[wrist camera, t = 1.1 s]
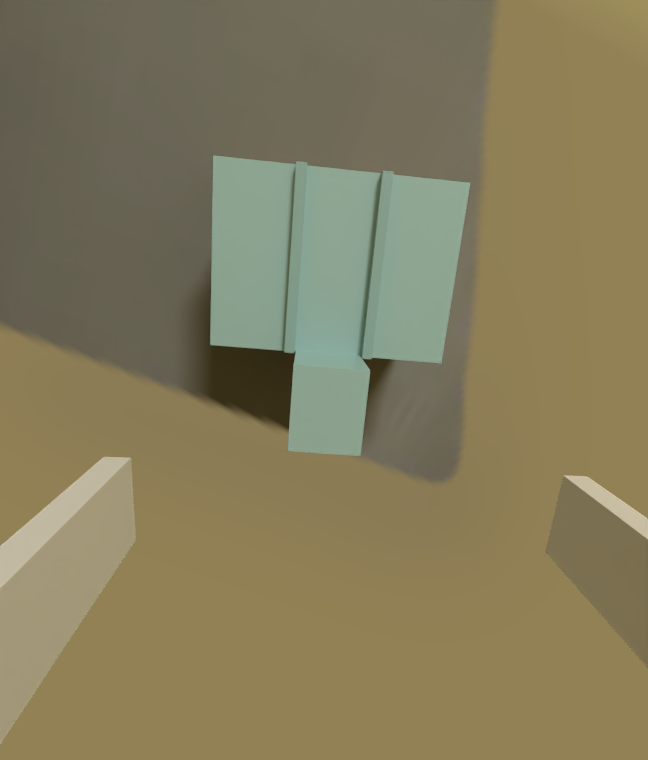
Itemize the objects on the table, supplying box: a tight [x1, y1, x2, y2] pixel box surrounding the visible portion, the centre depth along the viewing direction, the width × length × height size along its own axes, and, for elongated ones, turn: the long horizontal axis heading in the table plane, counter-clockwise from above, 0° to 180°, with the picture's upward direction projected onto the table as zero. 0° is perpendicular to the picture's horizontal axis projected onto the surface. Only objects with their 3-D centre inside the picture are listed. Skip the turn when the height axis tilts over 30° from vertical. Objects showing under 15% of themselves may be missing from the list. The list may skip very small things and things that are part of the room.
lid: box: [210, 156, 470, 456], centre depth 23 cm, size 15×15×6 cm
